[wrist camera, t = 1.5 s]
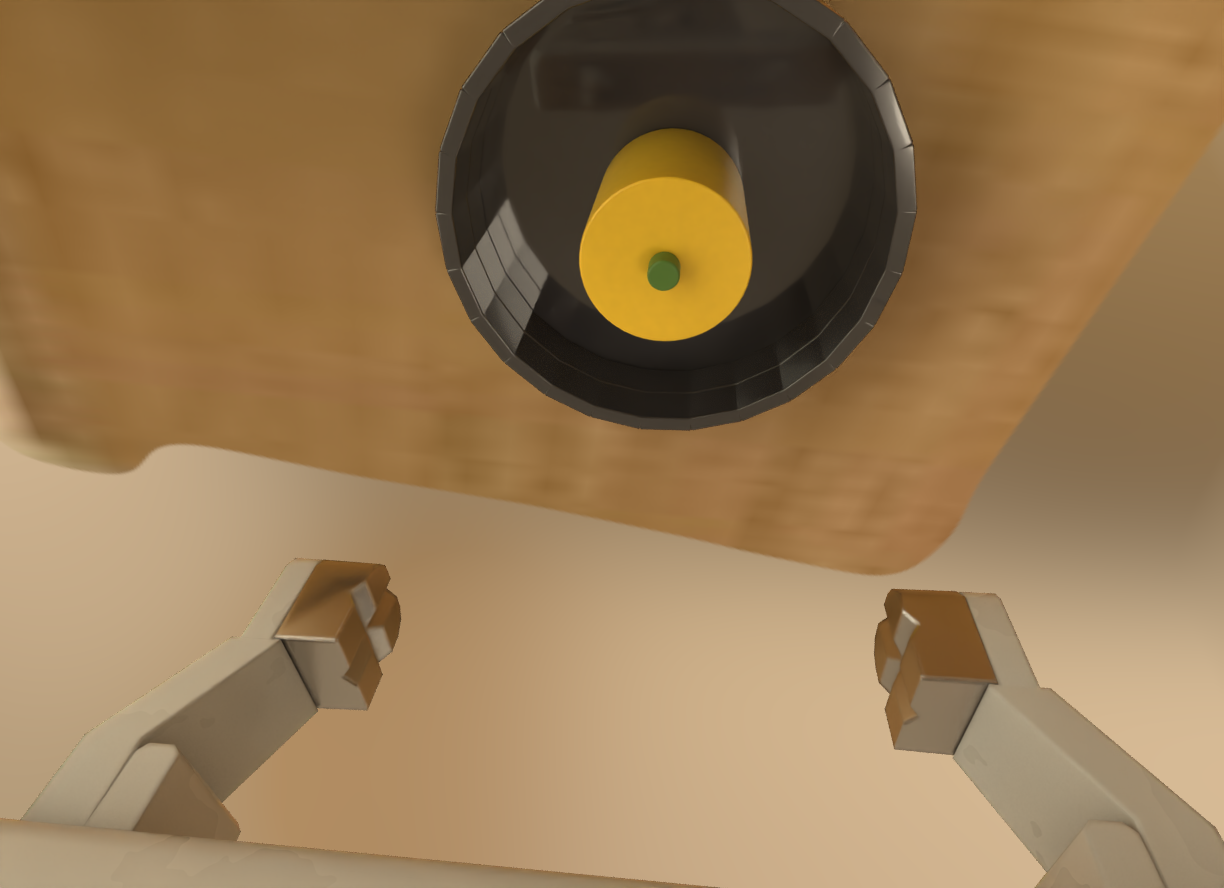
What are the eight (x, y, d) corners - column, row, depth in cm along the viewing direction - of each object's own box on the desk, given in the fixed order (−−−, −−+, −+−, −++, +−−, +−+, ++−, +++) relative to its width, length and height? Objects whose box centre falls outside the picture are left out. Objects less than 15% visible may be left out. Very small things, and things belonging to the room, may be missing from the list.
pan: (430, -41, 22) (386, -31, 19) (937, -63, 21) (979, -56, 18) (498, 373, 32) (476, 425, 29) (848, 380, 30) (865, 436, 27)
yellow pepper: (595, 128, 25) (568, 187, 20) (749, 126, 24) (762, 185, 19) (602, 272, 28) (581, 352, 23) (738, 272, 27) (746, 355, 22)
